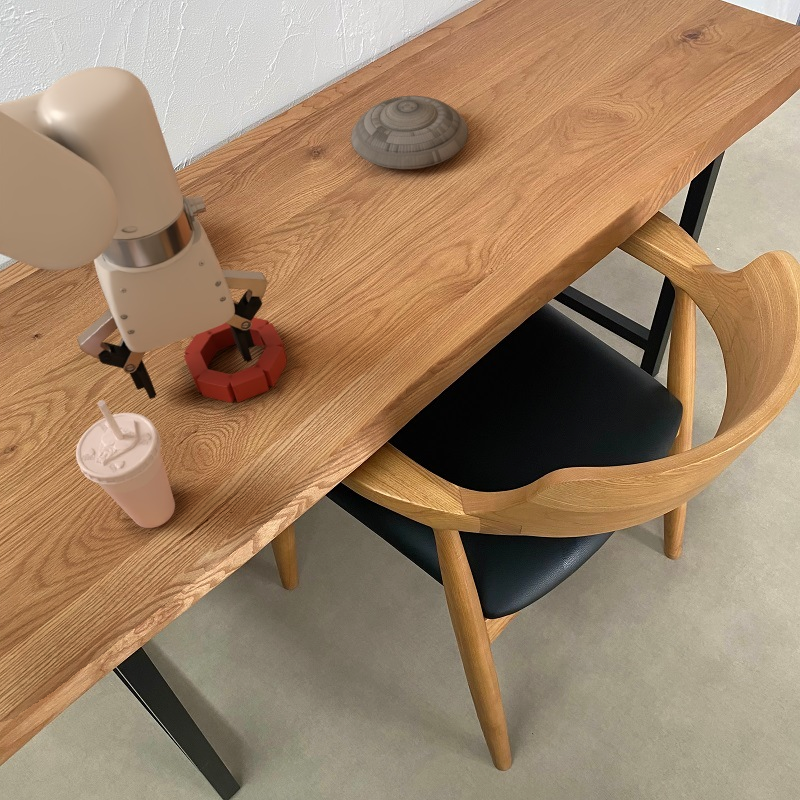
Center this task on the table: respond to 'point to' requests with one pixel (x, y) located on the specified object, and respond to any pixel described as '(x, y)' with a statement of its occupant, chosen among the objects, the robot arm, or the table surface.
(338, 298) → the table surface
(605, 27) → the table surface
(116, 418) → the smoothie
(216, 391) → the ring top
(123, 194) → the robot arm
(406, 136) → the flying saucer
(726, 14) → the table surface
